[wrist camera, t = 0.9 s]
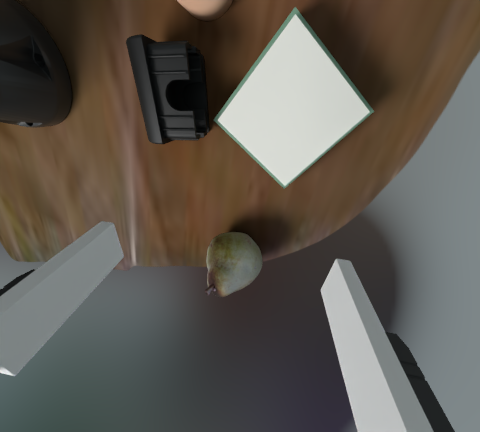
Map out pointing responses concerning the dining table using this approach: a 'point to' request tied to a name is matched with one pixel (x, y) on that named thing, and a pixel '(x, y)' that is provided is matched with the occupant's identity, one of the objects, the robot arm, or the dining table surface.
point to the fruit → (232, 263)
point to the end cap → (170, 88)
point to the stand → (292, 103)
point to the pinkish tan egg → (206, 8)
